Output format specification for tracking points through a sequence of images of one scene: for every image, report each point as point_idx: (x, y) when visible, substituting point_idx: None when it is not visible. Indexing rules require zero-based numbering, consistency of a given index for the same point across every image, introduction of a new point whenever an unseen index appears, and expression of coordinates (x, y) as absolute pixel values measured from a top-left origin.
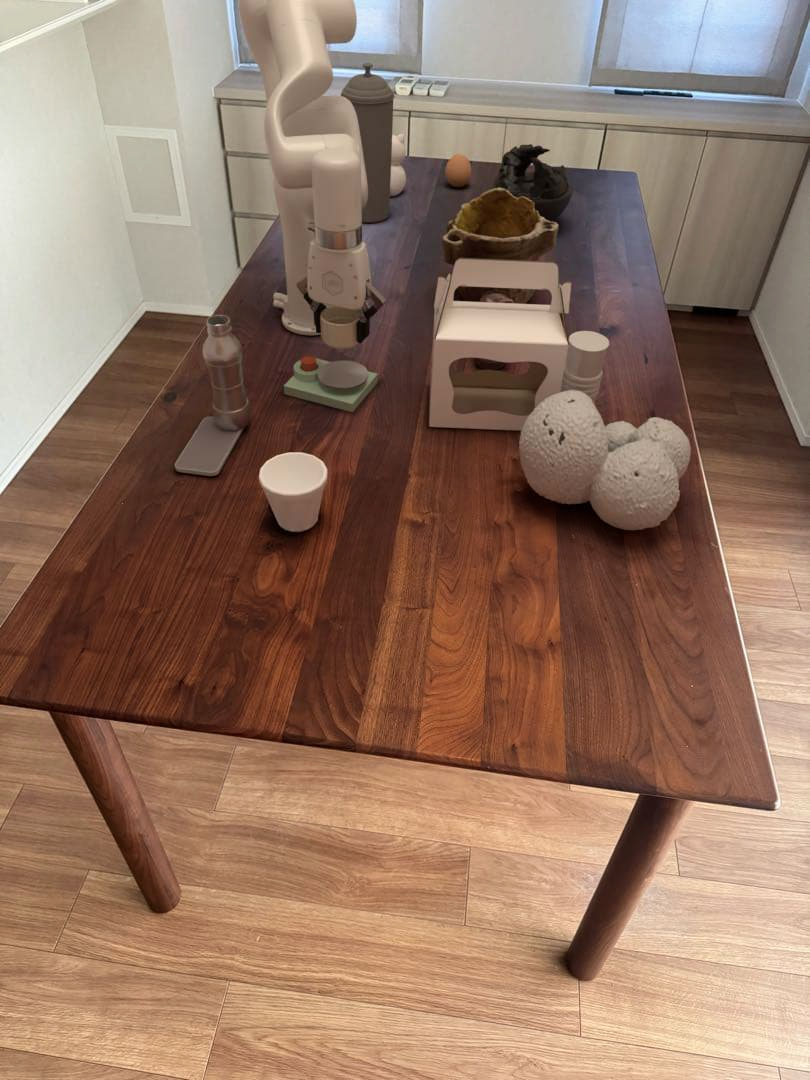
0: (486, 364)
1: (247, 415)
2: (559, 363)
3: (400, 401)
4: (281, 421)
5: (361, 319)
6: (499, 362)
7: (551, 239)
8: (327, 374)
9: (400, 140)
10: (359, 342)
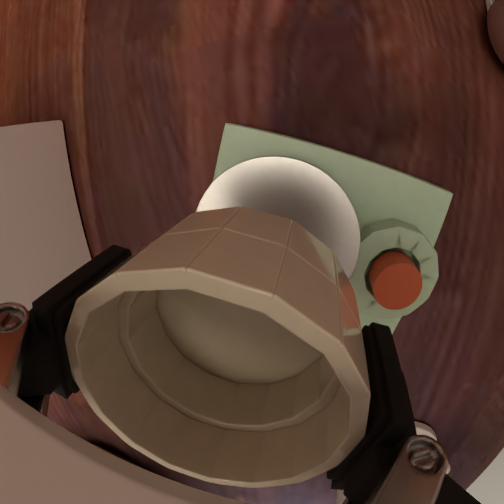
0: None
1: (496, 9)
2: None
3: (132, 203)
4: (420, 57)
5: (16, 322)
6: None
7: None
8: (326, 231)
9: None
10: (118, 246)
